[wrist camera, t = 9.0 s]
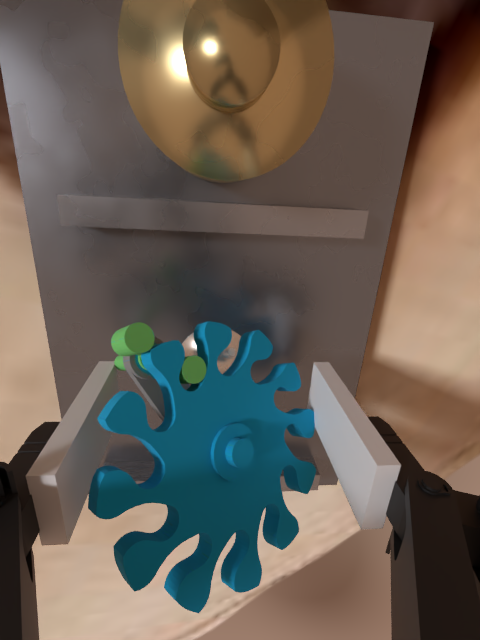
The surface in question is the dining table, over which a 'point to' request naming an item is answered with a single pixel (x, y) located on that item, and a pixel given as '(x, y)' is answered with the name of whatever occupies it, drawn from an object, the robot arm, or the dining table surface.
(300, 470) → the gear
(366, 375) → the dining table surface
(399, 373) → the dining table surface
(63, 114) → the board
